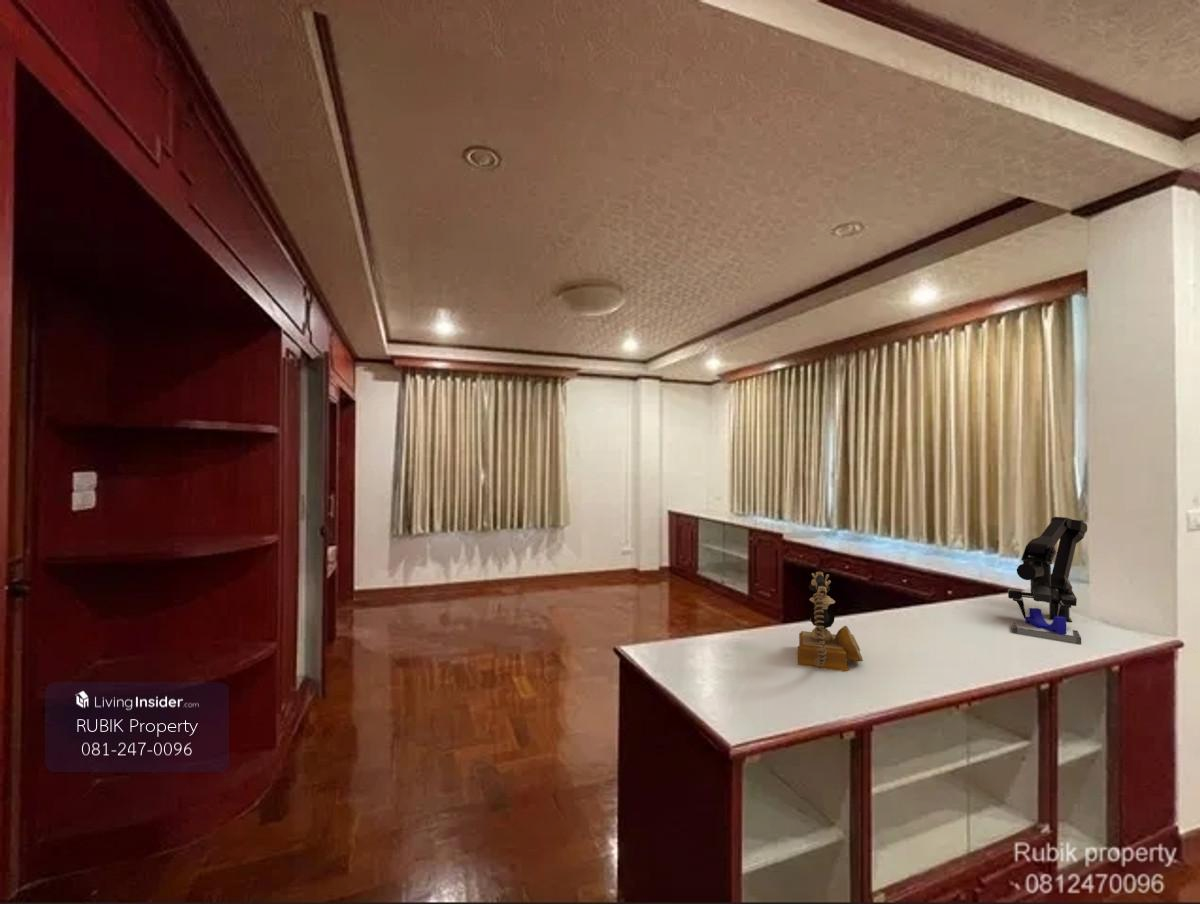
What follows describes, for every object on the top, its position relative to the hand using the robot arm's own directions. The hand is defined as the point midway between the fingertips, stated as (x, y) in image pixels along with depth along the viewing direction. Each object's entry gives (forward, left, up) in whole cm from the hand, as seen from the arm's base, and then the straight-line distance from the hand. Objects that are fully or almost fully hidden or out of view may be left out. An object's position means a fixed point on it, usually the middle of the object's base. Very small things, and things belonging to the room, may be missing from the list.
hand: (1041, 620), depth 192 cm
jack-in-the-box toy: (+87, -52, -2) cm, 101 cm away
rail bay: (+15, 0, -2) cm, 15 cm away
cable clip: (+6, +1, -2) cm, 6 cm away
